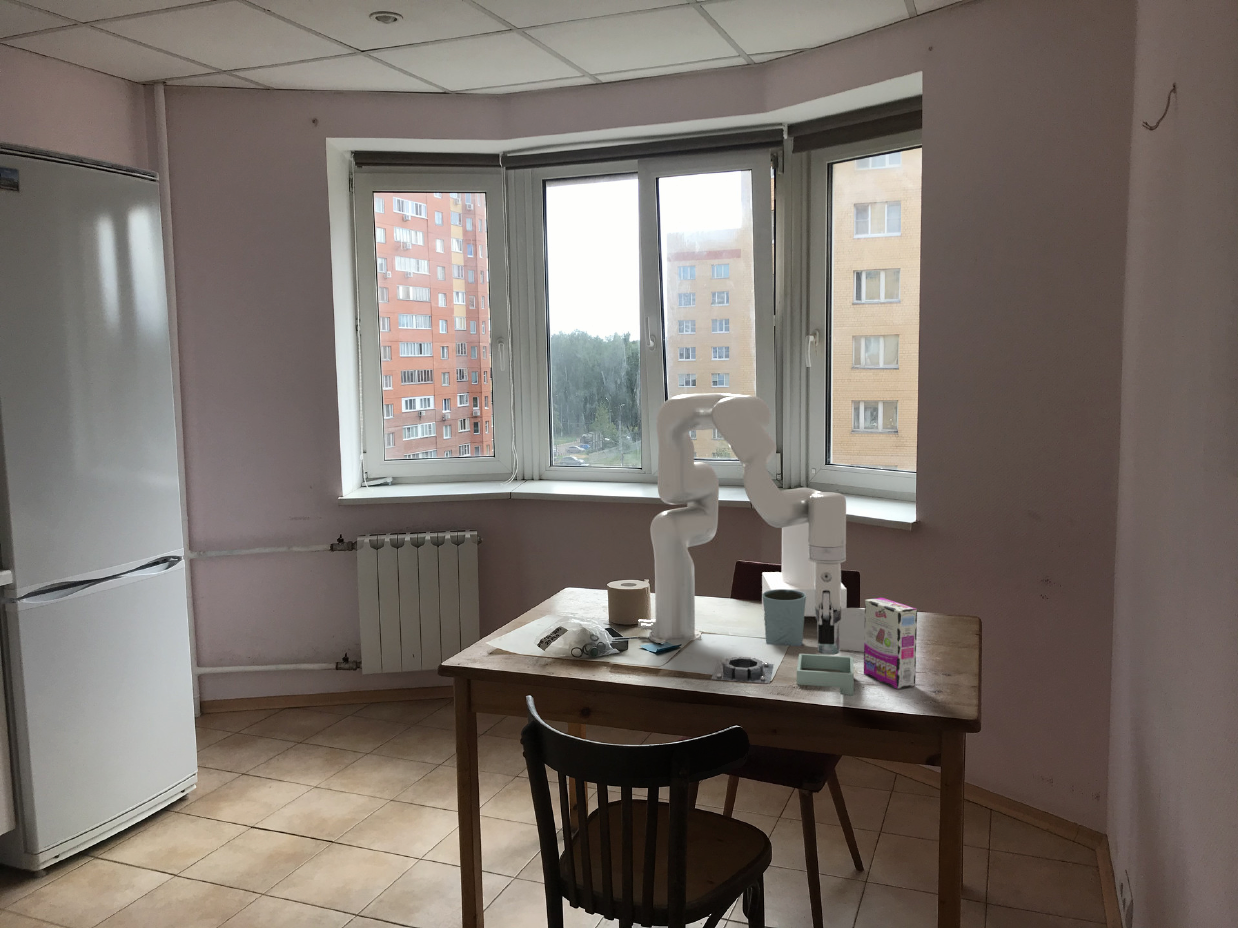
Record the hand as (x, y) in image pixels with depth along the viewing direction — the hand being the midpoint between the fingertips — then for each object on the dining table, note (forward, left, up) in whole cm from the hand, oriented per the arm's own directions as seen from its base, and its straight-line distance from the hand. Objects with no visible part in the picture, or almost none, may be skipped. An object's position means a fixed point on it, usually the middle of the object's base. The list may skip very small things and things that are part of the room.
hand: (826, 638), depth 191 cm
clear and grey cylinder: (0, 0, -3) cm, 3 cm away
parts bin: (0, 0, -10) cm, 10 cm away
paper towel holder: (-7, +49, -10) cm, 51 cm away
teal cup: (-10, +26, -10) cm, 30 cm away
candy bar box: (+13, +5, -10) cm, 17 cm away
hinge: (+7, +28, -10) cm, 30 cm away
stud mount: (-17, 0, -10) cm, 20 cm away
